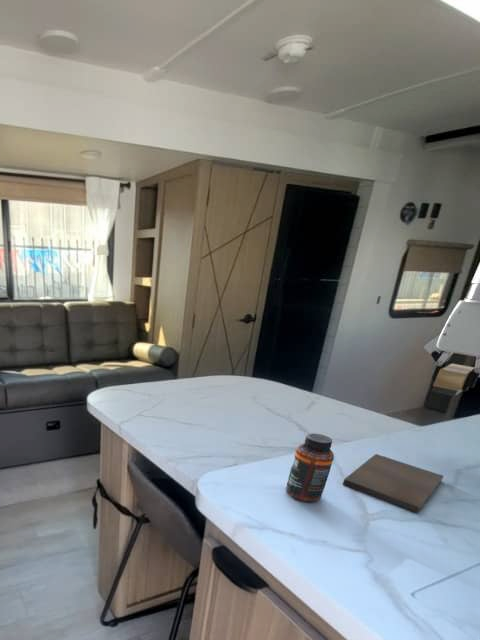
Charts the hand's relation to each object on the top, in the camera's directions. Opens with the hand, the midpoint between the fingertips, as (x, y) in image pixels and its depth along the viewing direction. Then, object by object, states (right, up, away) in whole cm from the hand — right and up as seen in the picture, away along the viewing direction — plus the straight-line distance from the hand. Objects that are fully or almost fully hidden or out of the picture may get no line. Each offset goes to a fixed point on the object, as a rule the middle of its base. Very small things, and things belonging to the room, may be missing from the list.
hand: (450, 386), depth 86 cm
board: (-17, -20, -7) cm, 27 cm away
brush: (0, -1, 0) cm, 1 cm away
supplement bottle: (-38, -22, -12) cm, 45 cm away
